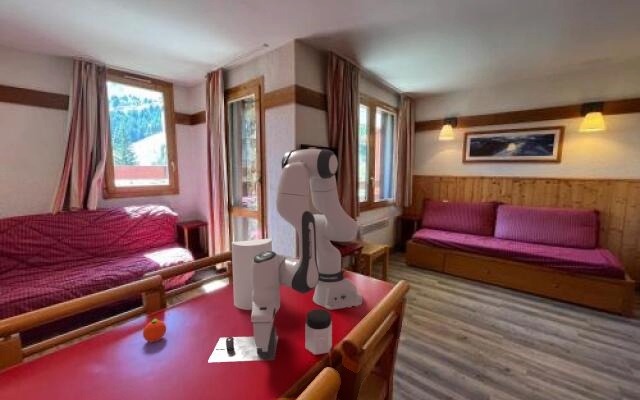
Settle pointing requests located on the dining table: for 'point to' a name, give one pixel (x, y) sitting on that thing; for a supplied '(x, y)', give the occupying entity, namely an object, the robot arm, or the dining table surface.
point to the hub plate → (238, 350)
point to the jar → (318, 331)
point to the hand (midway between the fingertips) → (267, 342)
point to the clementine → (154, 330)
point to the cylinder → (245, 269)
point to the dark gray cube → (270, 342)
